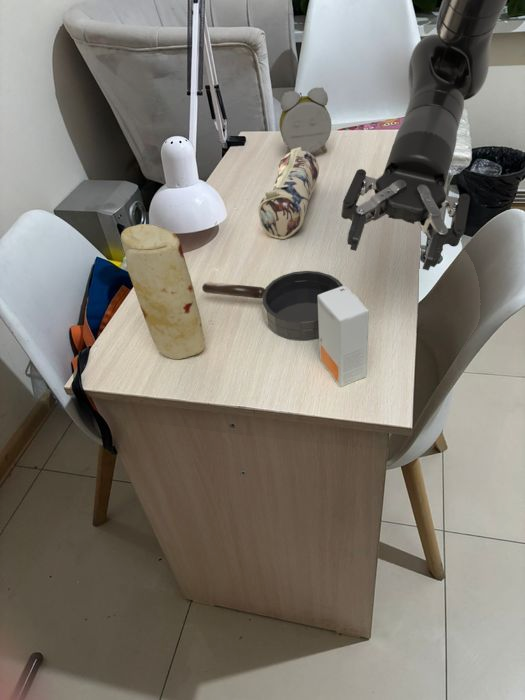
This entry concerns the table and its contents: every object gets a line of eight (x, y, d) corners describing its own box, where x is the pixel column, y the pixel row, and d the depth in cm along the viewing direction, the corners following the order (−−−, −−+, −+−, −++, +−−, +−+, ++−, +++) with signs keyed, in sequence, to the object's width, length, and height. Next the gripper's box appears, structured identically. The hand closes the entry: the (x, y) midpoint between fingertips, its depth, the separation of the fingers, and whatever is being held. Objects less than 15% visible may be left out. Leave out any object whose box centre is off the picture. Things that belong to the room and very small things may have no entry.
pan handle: (268, 294, 81) (266, 285, 80) (264, 301, 80) (263, 292, 79) (205, 288, 84) (203, 279, 83) (201, 294, 83) (199, 285, 82)
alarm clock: (328, 148, 125) (327, 82, 115) (333, 160, 120) (333, 91, 110) (281, 155, 125) (276, 89, 115) (284, 166, 120) (279, 99, 110)
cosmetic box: (318, 361, 73) (315, 293, 64) (345, 350, 74) (345, 283, 65) (339, 389, 68) (339, 321, 60) (367, 378, 69) (371, 309, 61)
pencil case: (303, 241, 96) (300, 193, 89) (259, 240, 98) (253, 192, 91) (320, 187, 111) (319, 142, 104) (282, 187, 113) (278, 142, 106)
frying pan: (352, 292, 83) (352, 274, 81) (337, 345, 74) (337, 327, 72) (276, 285, 87) (274, 267, 84) (254, 335, 78) (251, 317, 76)
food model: (217, 341, 78) (191, 225, 64) (192, 370, 74) (158, 252, 60) (167, 325, 82) (132, 212, 68) (140, 351, 78) (98, 237, 64)
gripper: (370, 117, 62) (332, 220, 56) (489, 143, 60) (463, 253, 54) (362, 163, 69) (327, 259, 63) (469, 187, 67) (443, 290, 61)
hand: (390, 256), depth 58 cm, fingers open, 8 cm apart
